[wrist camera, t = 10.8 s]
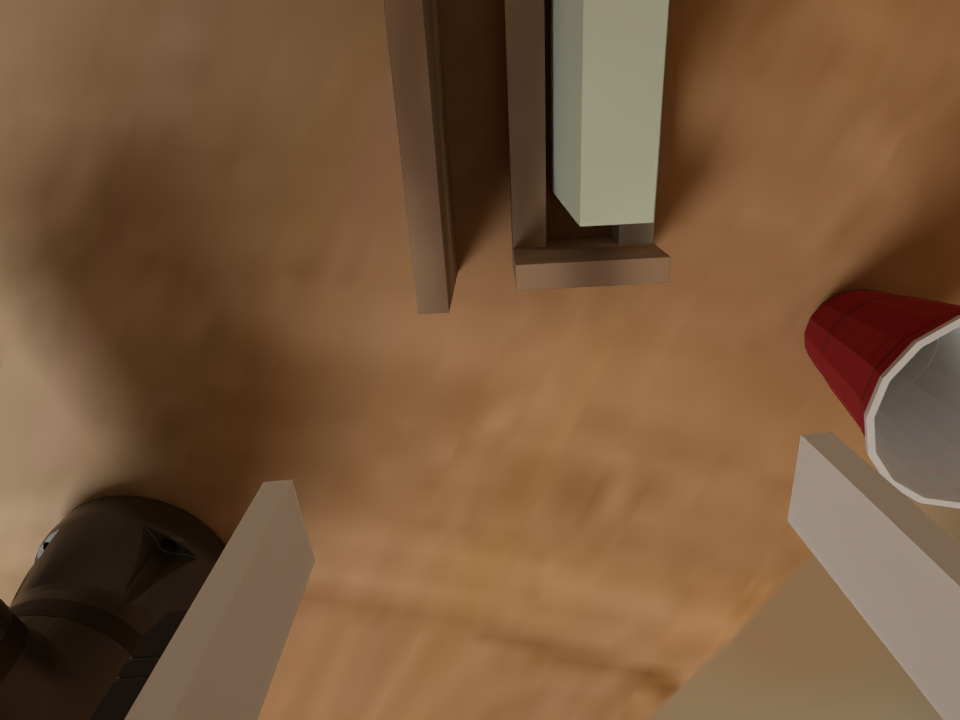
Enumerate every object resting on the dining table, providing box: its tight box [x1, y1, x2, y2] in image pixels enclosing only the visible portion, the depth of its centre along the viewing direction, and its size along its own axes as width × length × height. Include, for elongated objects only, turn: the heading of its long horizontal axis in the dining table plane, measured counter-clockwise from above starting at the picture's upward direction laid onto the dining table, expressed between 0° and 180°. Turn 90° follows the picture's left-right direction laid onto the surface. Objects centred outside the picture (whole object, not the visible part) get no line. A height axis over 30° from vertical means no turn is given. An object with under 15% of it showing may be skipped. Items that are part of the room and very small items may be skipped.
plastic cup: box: [805, 290, 960, 508], centre depth 31 cm, size 11×11×12 cm
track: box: [384, 0, 671, 314], centre depth 27 cm, size 13×22×8 cm, turn 3°
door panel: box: [550, 0, 669, 227], centre depth 26 cm, size 3×12×12 cm, turn 4°
